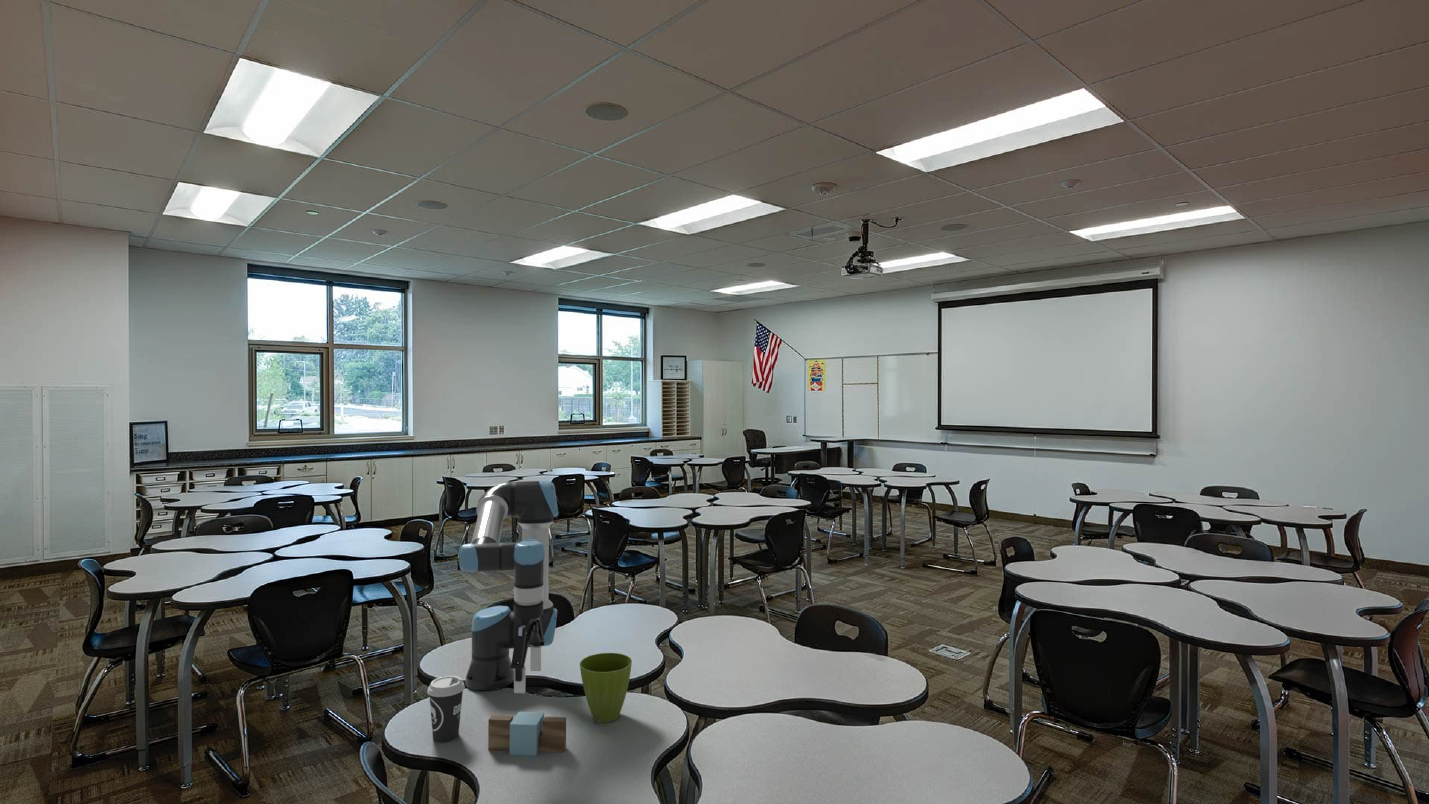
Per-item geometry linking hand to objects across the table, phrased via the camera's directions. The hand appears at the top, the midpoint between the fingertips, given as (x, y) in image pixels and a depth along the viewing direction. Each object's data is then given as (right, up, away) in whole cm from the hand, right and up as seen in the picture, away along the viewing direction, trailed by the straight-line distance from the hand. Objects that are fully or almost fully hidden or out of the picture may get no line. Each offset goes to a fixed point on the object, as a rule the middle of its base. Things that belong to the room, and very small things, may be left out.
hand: (527, 681), depth 180 cm
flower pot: (+18, -18, +18) cm, 31 cm away
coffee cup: (-24, -18, +6) cm, 30 cm away
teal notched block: (0, -18, 0) cm, 18 cm away
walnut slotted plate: (0, -18, 0) cm, 18 cm away
